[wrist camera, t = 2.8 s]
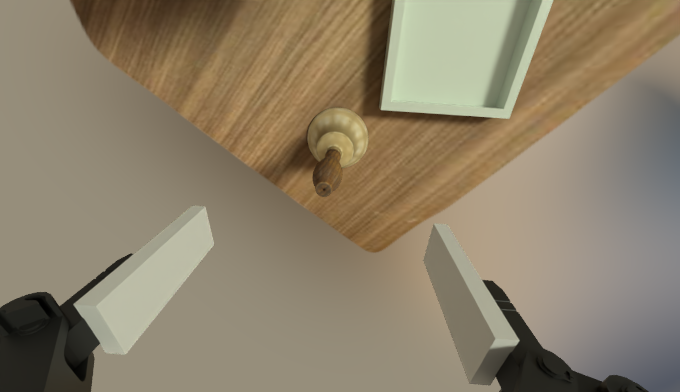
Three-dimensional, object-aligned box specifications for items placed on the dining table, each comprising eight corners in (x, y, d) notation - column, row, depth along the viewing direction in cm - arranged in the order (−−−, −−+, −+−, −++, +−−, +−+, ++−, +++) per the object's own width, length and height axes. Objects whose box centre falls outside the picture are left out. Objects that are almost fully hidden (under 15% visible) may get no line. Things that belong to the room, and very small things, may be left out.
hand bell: (304, 162, 34) (271, 226, 20) (310, 101, 31) (275, 128, 17) (361, 172, 35) (367, 242, 21) (374, 113, 31) (393, 149, 17)
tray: (378, 107, 30) (380, 109, 28) (399, -55, 24) (403, -68, 21) (497, 115, 30) (509, 118, 28) (553, -46, 23) (574, -58, 21)
